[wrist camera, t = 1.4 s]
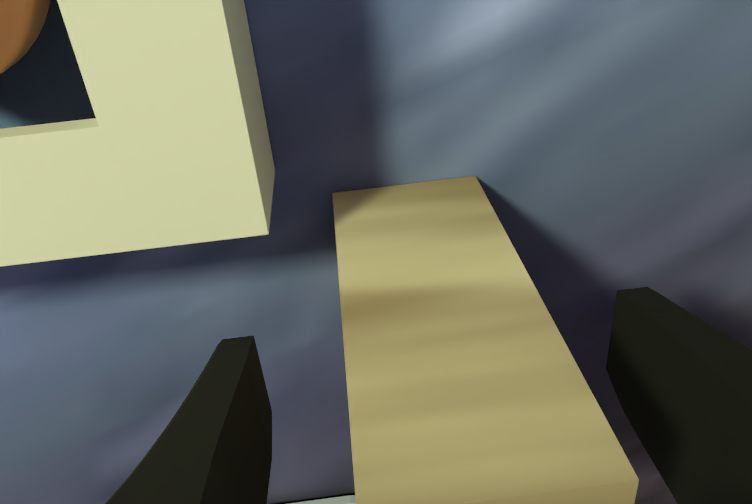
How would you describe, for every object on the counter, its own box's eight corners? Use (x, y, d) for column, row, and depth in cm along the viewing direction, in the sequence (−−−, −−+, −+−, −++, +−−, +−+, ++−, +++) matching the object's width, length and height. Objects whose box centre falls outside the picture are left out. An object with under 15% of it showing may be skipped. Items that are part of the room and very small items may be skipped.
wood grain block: (475, 292, 17) (608, 631, 10) (348, 308, 17) (379, 663, 10) (475, 175, 16) (638, 480, 8) (332, 192, 15) (357, 518, 8)
